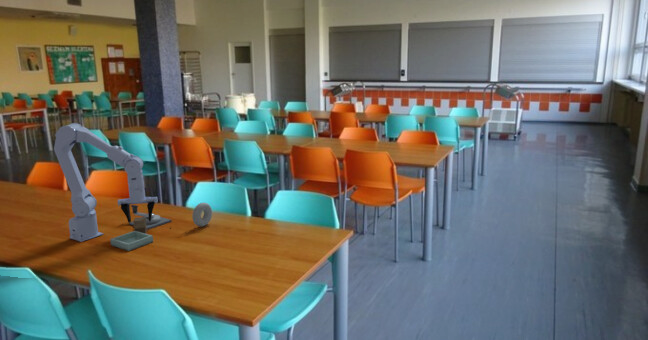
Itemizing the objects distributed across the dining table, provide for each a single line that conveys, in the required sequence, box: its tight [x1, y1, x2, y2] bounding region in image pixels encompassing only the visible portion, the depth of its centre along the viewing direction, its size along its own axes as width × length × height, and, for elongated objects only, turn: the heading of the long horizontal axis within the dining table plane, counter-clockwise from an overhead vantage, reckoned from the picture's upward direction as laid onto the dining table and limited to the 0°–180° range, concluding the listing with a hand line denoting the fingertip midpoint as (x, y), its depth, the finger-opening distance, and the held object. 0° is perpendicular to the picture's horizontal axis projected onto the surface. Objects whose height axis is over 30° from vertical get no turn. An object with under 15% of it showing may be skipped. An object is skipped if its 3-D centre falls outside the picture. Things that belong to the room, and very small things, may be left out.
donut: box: [192, 202, 213, 227], centre depth 198 cm, size 10×3×10 cm, turn 151°
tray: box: [109, 230, 154, 252], centre depth 181 cm, size 11×11×2 cm
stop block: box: [132, 216, 148, 234], centre depth 191 cm, size 4×4×6 cm
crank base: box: [128, 214, 172, 231], centre depth 204 cm, size 12×12×2 cm
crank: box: [130, 204, 155, 218], centre depth 204 cm, size 11×3×4 cm, turn 67°
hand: (140, 221), depth 191 cm, fingers open, 7 cm apart
